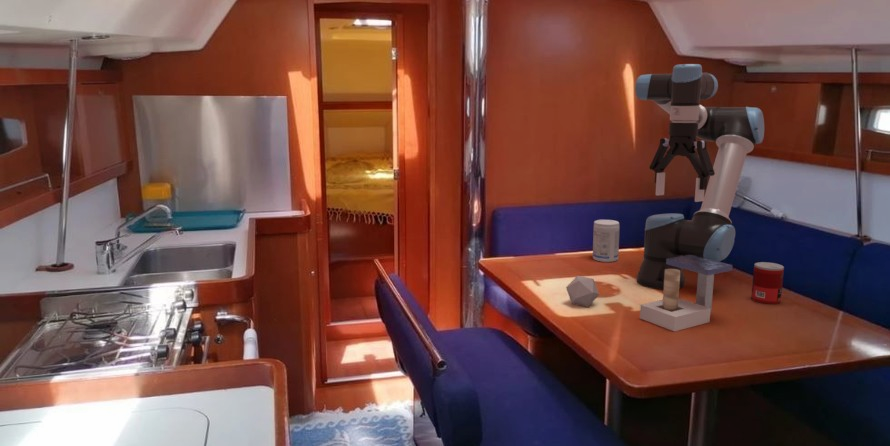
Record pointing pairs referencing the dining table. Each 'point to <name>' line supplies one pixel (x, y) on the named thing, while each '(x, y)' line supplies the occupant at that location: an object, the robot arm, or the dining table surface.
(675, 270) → the peg
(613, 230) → the supplement tub
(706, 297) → the slate blue panel
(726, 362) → the dining table surface
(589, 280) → the die
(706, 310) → the socket block
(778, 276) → the canned food
